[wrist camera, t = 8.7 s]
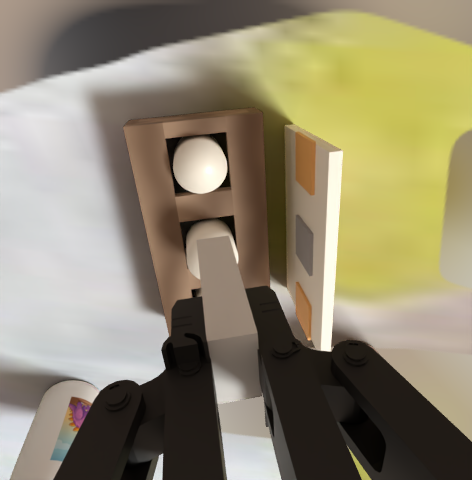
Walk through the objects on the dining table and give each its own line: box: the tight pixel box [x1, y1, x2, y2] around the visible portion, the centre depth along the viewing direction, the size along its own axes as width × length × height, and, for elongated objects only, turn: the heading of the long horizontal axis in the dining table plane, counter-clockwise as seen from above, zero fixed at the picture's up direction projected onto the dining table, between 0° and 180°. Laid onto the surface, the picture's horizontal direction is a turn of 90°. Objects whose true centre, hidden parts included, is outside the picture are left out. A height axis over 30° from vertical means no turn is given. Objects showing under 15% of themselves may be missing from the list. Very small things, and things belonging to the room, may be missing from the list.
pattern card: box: [285, 124, 343, 352], centre depth 35 cm, size 1×20×12 cm, turn 5°
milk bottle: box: [10, 380, 100, 480], centre depth 39 cm, size 8×8×20 cm
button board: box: [123, 107, 270, 337], centre depth 37 cm, size 12×24×4 cm, turn 5°
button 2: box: [186, 218, 238, 279], centre depth 34 cm, size 5×5×4 cm
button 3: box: [173, 134, 227, 194], centre depth 33 cm, size 5×5×4 cm
